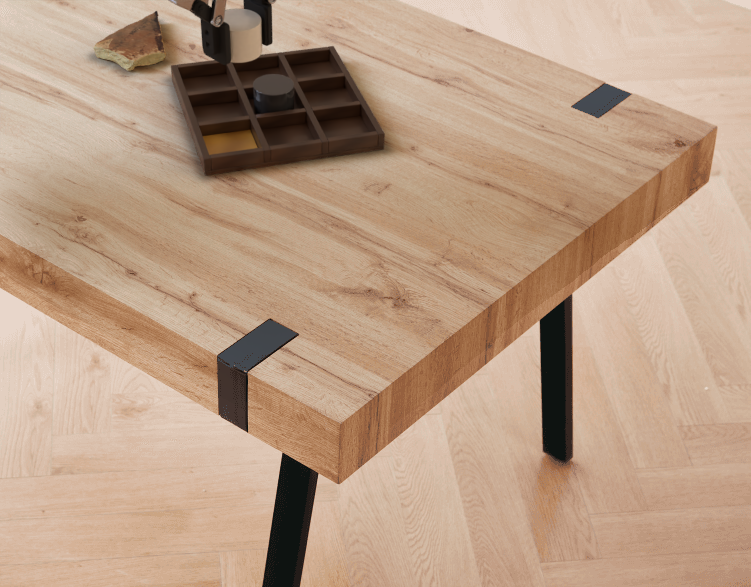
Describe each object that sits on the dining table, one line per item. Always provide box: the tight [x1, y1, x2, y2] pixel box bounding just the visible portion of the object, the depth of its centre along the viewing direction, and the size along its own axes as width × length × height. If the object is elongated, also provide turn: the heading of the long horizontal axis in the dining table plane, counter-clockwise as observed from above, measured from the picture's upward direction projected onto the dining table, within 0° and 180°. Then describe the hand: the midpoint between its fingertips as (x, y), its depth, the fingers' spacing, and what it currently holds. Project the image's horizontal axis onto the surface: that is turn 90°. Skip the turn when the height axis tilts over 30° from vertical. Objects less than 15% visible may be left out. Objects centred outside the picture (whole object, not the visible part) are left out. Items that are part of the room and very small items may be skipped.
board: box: [170, 45, 386, 176], centre depth 117 cm, size 19×19×2 cm
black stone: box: [253, 74, 294, 115], centre depth 116 cm, size 4×4×3 cm
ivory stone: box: [224, 7, 263, 63], centre depth 99 cm, size 4×4×3 cm
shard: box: [93, 10, 167, 72], centre depth 126 cm, size 11×8×2 cm
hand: (238, 47), depth 100 cm, fingers closed on ivory stone, 4 cm apart
